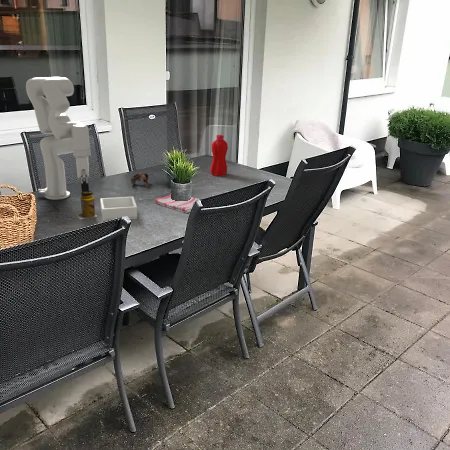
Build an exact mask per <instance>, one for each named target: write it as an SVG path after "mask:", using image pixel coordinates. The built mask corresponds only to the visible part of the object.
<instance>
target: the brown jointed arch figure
mask: <svg viewBox="0 0 450 450" xmlns="http://www.w3.org/2000/svg"><path fill="white" fill-rule="evenodd" d="M141 179H142V180H141ZM129 180H130V184H133V185H135V184H136V182H141V181H143V183H144V186H145V187H144V188H147V187H148V186H149V181H148V180H149V174H148V173H147V172H145V173H143V174H142V172H138V173H136V174H135V175H133V176H132V177H131V178H130V179H129Z"/></svg>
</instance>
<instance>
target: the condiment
mask: <svg viewBox="0 0 450 450" xmlns="http://www.w3.org/2000/svg"><path fill="white" fill-rule="evenodd" d="M80 204H81V206H80V207H81V208H80V209H81V213H75V216H76V217H77V218H78V219H79V220H86V219H92V218H97V217H98V215H97V214H96V212H95V211H96V208H95V198H94V194H93V191H92V190H89V192H82V191H81V192H80Z"/></svg>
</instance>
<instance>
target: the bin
mask: <svg viewBox="0 0 450 450" xmlns="http://www.w3.org/2000/svg"><path fill="white" fill-rule="evenodd" d="M99 200H100V212H101V218H102V222H109V221H108V220H111V219H114V218H117V217H121V216H128V217H129V218H130V219H129V220H137V219H138V206H137V204H136V201H135V198H134V196H120V197H119V196H118V197H116V196H115V197H105V198H104V197H103V198H102V197H101V198H100V199H99Z"/></svg>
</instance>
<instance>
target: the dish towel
mask: <svg viewBox="0 0 450 450" xmlns="http://www.w3.org/2000/svg"><path fill="white" fill-rule="evenodd" d="M171 194H172V193H171ZM171 194H169V195H166V196H164V197H157V198H155V199H154V201H155V204H157V205H159V204H160V206H163V207H165V208H166V207H167V208H169V209H172V210H175V211H177V210H178V212H180V211H181V213H184V212H185V213H184V214H189V212H190V210H191V208H192V206H193V203H194V202H195V201H196V200H199V199H200V198H196V197H192V196H190V197H191V199H190V200H188V201H175V200H172V199H171ZM190 213H191V212H190Z"/></svg>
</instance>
